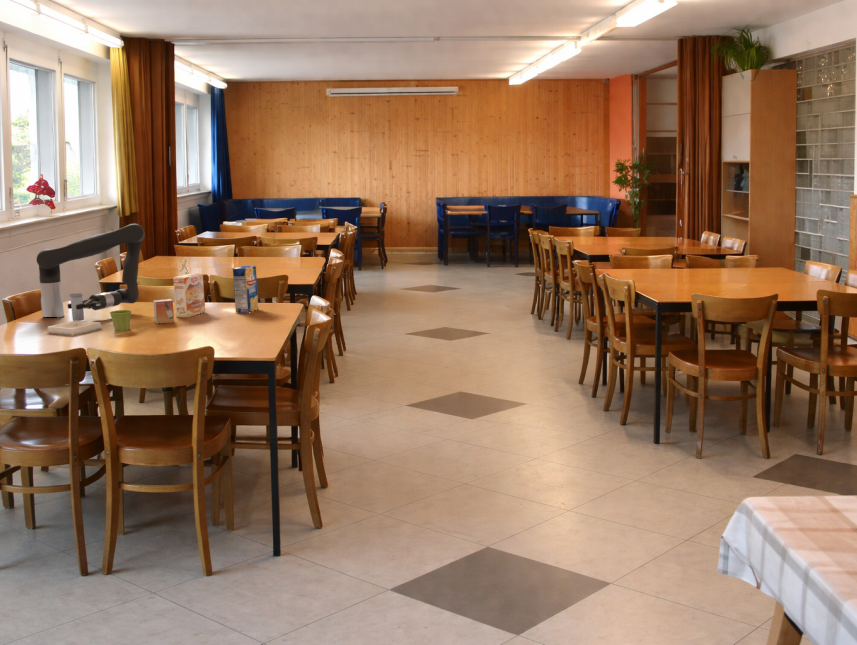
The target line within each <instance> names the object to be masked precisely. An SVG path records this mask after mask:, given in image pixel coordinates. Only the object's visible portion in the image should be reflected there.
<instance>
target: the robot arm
mask: <svg viewBox="0 0 857 645" xmlns="http://www.w3.org/2000/svg"><path fill="white" fill-rule="evenodd" d="M145 233H146V232H145V231H144V228H143V227H142V226H141V225H139V224H138V223H130V224H128V225H126V226H123V227H120V228H118V229H115V230H111V231H108V232H107V231H106V232H103V233H99V234H95V235H90V236H88V237H83V238H81V239H78V240H76V241H74V242H71V243H69V244H67V245H65V246H62V247H57V248H44V249H42V250H41V251H40V252H38V253H37V256H36V263H37V265H38V271H39V274H38V275H39V286H40V295H41V297H40V305H41V313H42V315H41V316H42V317H43V316H44V317H57V318H62V317H65V308H64V298H63V291H62V290H63V289H62V282H61V268H60V265H62V264H64V263H67V262H70V261H75V260H81V259H85V258H90V257H93V256H96V255H99V254H102V253H105V252H107V251H109V250H111V249H113V248H115V247H118V246H121V245H123V244H126V254H125V259H124V264H123V270H122V278H121V282H122V283H123V284H125V285H126V287H127V288H120V289H117V290H115V291H108V292H102V293H96V294H95V293H94V294H91V295H90V296H89V298H86V299H82V300H83V304H78V305H76V309H78V310H79V309H83V310H84V309H85V310H86V309H87V310H90V309H92V310H93V311H99V310H104V309H109V308H111V307H115V306H119V305H121V304H135V303H137V301H138V299H139V297H140V296H139V295H140V294H139V293H140V292H139V285H138V276H139V262H140V253H141V248H142V245H143V241H144V239H145V235H146V234H145ZM67 309H71V310H72V308H71V302H70V303H68V304H67ZM44 317H43V318H44Z"/></svg>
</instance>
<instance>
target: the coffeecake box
mask: <svg viewBox="0 0 857 645" xmlns="http://www.w3.org/2000/svg"><path fill="white" fill-rule="evenodd" d="M172 279H173V280H172V282H173V294H174V306H175V307H174V308H175V317H176V318H186V317H188V318H190V316H191V317H194V316H197V314H198V315H200V313H201V314H203V312H204V313H206V304H205V290H204V288H205V287H204V273H189V274H187V275H185V274H182V275H178V276H174V277H172Z"/></svg>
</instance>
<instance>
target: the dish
mask: <svg viewBox="0 0 857 645" xmlns="http://www.w3.org/2000/svg"><path fill="white" fill-rule="evenodd" d="M99 329H101V330H102V323H101V322H98V321H89V320H80V321H79V320H75V321H73V320H70V321H67V322H63V323H57V324H54V325H49V326H47V332H48V333H54V334H53V335H58V334H61V335H60V336H67V335H70V336H71V337H74V336H75V335H76V336H79V334H80V335H84V334H88V333H92V332H96V331H100V330H99ZM95 330H96V331H95ZM91 331H92V332H91ZM87 332H88V333H87ZM48 333H47V334H48ZM83 333H84V334H83ZM70 336H69V337H70Z"/></svg>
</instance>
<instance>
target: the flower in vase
mask: <svg viewBox="0 0 857 645" xmlns="http://www.w3.org/2000/svg"><path fill="white" fill-rule="evenodd" d="M186 264H187V258H184V259H183V260H182V261H181V263H180V266H178V268H179V269H178V270H177V272H178V273H181V272H183V270H184V269H185V270H186V271H185V273H184V275H187V274H190V273H189V271H188V268H187V267H186Z"/></svg>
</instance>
